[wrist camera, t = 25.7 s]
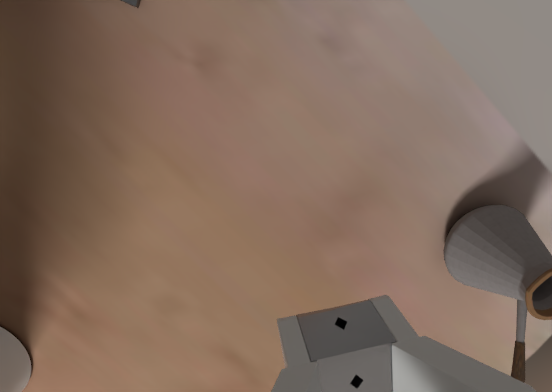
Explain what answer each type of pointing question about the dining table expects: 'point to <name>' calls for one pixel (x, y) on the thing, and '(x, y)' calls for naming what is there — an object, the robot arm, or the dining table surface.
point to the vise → (132, 2)
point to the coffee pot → (503, 265)
